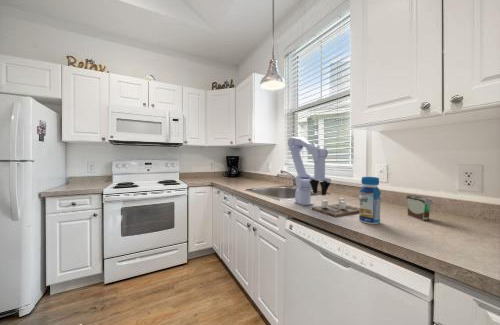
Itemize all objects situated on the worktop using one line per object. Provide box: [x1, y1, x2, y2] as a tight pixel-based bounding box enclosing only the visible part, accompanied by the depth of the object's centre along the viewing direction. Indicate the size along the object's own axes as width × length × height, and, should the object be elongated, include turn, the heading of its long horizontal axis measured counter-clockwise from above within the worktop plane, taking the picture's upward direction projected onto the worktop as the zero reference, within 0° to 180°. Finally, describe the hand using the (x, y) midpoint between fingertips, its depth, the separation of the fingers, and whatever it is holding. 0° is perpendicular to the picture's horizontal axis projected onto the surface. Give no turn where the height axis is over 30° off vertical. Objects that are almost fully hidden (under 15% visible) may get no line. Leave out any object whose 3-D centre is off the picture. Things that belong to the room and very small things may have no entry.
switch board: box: [311, 203, 360, 218], centre depth 111 cm, size 16×22×2 cm
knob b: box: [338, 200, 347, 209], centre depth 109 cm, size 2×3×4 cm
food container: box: [405, 194, 434, 222], centre depth 98 cm, size 12×6×10 cm, turn 179°
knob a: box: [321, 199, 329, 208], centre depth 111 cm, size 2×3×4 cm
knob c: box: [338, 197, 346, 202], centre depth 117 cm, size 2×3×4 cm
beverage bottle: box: [358, 176, 382, 225], centre depth 92 cm, size 8×8×20 cm
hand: (319, 194), depth 115 cm, fingers open, 6 cm apart
